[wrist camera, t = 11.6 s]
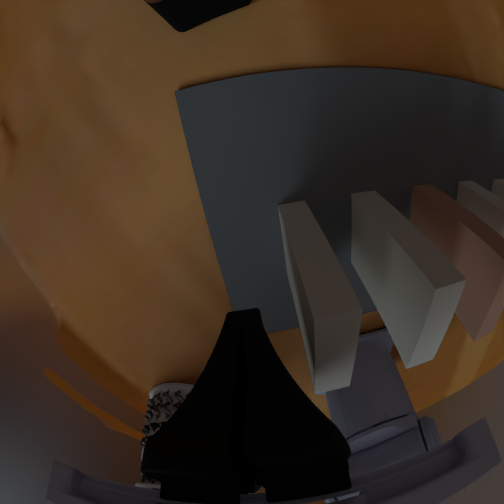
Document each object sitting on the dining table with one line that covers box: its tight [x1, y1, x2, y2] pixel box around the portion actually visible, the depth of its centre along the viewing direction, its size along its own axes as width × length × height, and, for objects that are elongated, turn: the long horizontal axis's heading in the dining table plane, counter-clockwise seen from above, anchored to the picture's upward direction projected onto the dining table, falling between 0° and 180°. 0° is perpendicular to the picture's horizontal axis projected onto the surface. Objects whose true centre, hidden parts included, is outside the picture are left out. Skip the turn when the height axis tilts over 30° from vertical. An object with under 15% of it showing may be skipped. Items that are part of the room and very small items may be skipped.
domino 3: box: [410, 184, 504, 341], centre depth 13 cm, size 2×5×9 cm, turn 10°
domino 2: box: [351, 191, 466, 369], centre depth 13 cm, size 2×5×9 cm, turn 10°
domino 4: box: [457, 181, 504, 238], centre depth 13 cm, size 2×5×9 cm, turn 10°
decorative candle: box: [135, 382, 194, 490], centre depth 18 cm, size 9×9×25 cm
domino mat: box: [175, 67, 504, 333], centre depth 16 cm, size 18×26×1 cm
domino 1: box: [278, 200, 363, 394], centre depth 13 cm, size 2×5×9 cm, turn 11°
